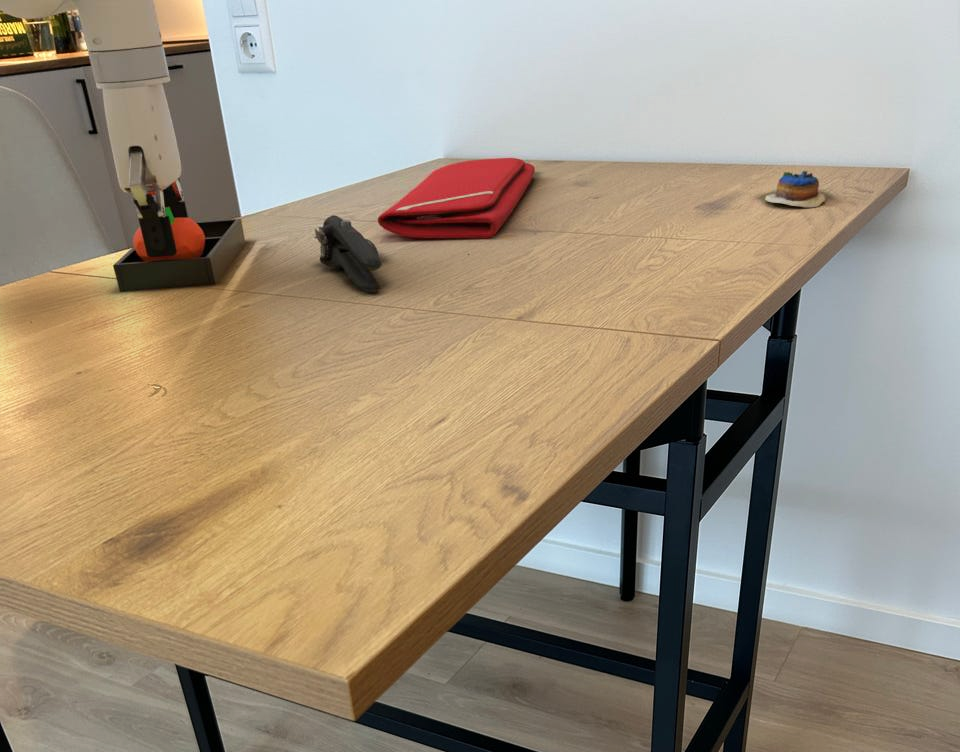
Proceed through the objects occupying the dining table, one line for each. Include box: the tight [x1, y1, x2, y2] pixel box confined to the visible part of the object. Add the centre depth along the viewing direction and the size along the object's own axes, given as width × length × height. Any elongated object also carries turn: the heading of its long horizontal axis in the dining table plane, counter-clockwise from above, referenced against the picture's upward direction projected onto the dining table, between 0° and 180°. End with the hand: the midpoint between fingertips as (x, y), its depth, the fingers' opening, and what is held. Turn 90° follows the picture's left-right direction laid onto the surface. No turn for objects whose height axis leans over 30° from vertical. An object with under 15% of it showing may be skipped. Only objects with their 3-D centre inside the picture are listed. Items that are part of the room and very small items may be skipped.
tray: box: [112, 218, 246, 293], centre depth 119 cm, size 11×21×4 cm, turn 2°
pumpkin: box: [133, 207, 205, 262], centre depth 113 cm, size 7×8×6 cm
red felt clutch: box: [377, 157, 536, 239], centre depth 140 cm, size 16×41×4 cm, turn 171°
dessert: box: [764, 170, 826, 208], centre depth 129 cm, size 8×7×6 cm
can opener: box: [313, 214, 382, 293], centre depth 111 cm, size 18×7×6 cm, turn 17°
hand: (170, 246), depth 114 cm, fingers closed on pumpkin, 7 cm apart
